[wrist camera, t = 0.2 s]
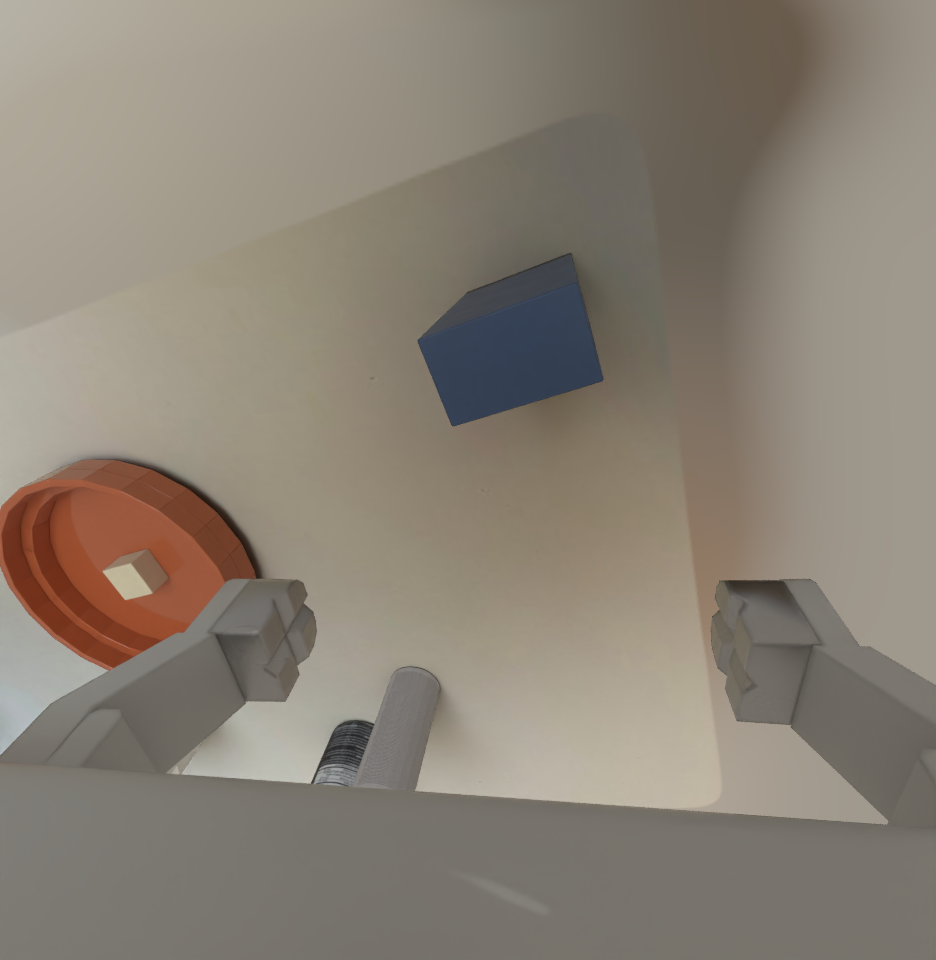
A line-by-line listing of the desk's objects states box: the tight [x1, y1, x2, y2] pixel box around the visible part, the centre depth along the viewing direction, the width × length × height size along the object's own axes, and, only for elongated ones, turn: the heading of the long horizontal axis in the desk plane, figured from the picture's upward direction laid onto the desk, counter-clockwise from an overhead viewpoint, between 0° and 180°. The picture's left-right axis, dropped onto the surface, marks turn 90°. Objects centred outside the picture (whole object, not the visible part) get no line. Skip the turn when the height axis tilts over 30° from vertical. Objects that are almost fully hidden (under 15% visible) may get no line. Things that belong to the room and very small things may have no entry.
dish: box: [0, 460, 256, 671], centre depth 42 cm, size 19×19×4 cm
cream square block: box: [103, 549, 169, 600], centre depth 42 cm, size 3×3×2 cm
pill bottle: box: [311, 721, 374, 787], centre depth 45 cm, size 6×6×11 cm
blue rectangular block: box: [418, 253, 604, 426], centre depth 24 cm, size 4×6×12 cm, turn 111°
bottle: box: [352, 667, 440, 791], centre depth 37 cm, size 4×4×20 cm
